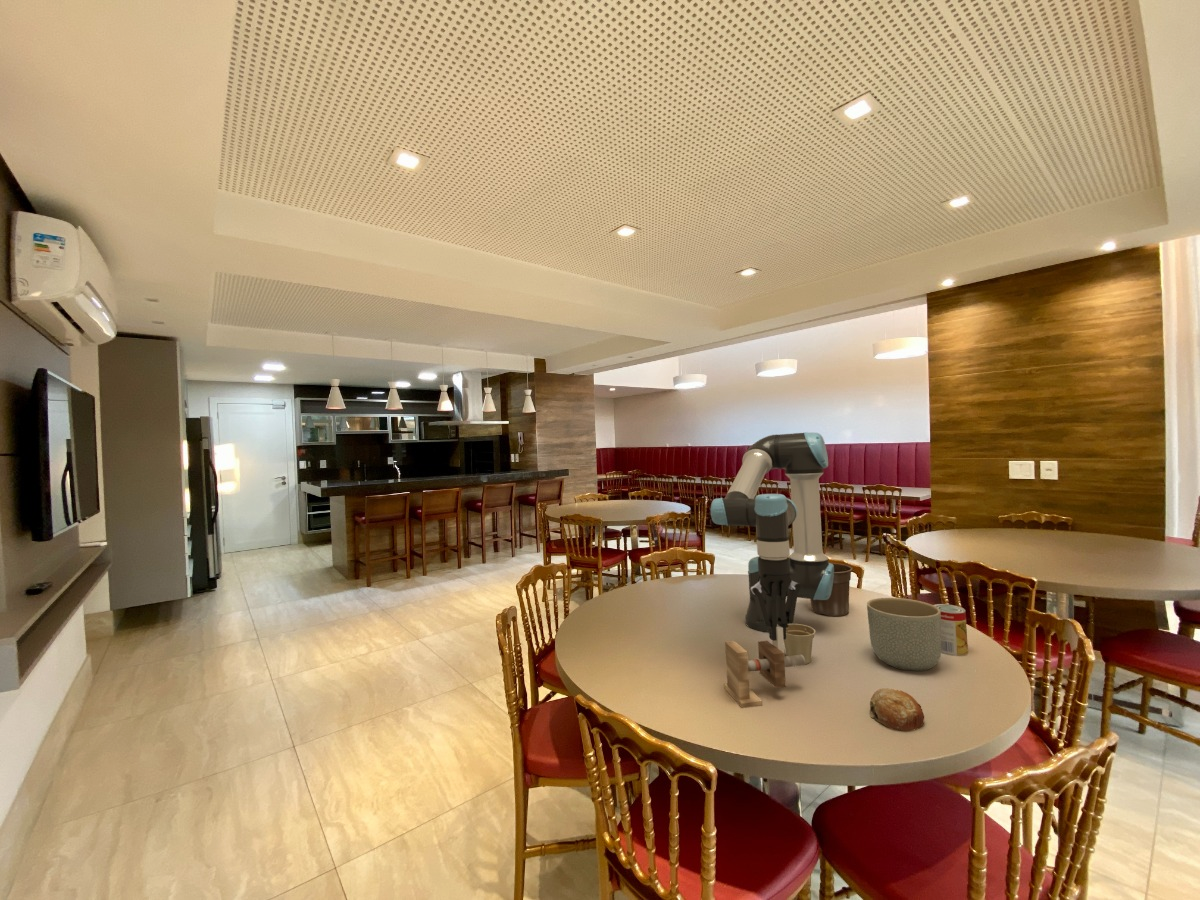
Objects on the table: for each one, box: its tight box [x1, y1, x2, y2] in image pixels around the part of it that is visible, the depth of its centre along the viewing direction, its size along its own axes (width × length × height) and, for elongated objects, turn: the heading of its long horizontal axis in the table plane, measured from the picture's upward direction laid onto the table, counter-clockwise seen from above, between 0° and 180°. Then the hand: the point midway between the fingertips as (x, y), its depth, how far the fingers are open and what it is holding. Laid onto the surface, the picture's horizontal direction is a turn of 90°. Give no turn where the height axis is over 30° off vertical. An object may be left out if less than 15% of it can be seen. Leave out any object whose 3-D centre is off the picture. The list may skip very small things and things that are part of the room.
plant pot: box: [810, 562, 853, 617], centre depth 174 cm, size 16×16×16 cm
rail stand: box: [723, 640, 806, 709], centre depth 118 cm, size 19×10×12 cm, turn 99°
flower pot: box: [783, 623, 816, 665], centre depth 135 cm, size 9×9×9 cm
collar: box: [757, 640, 787, 689], centre depth 118 cm, size 2×8×8 cm, turn 9°
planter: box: [866, 597, 942, 672], centre depth 130 cm, size 17×17×15 cm
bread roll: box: [869, 687, 925, 732], centre depth 104 cm, size 10×10×8 cm
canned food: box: [933, 603, 969, 657], centre depth 137 cm, size 8×8×12 cm
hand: (778, 652), depth 118 cm, fingers closed
